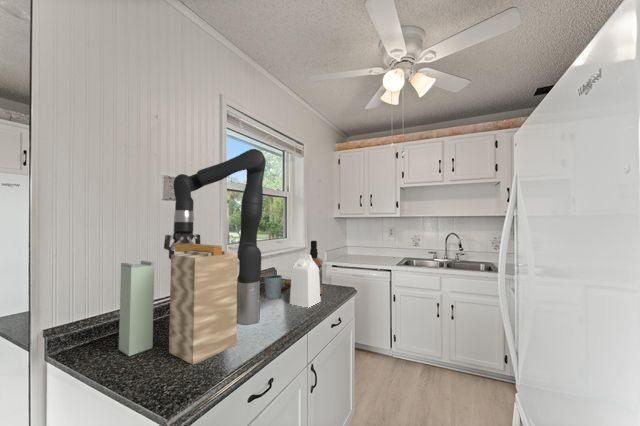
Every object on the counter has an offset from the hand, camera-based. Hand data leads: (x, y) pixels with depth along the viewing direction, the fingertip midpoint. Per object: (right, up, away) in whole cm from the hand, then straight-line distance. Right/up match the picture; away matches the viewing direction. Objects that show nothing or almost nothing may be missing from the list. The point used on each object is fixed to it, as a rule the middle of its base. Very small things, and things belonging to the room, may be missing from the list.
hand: (182, 258), depth 116 cm
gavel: (+37, -30, +58) cm, 75 cm away
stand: (+20, -26, -24) cm, 41 cm away
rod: (+16, +6, -20) cm, 26 cm away
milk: (+51, -29, +27) cm, 65 cm away
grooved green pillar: (-3, -26, -25) cm, 36 cm away
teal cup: (+32, -29, +39) cm, 58 cm away
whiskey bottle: (+55, -29, +47) cm, 78 cm away
